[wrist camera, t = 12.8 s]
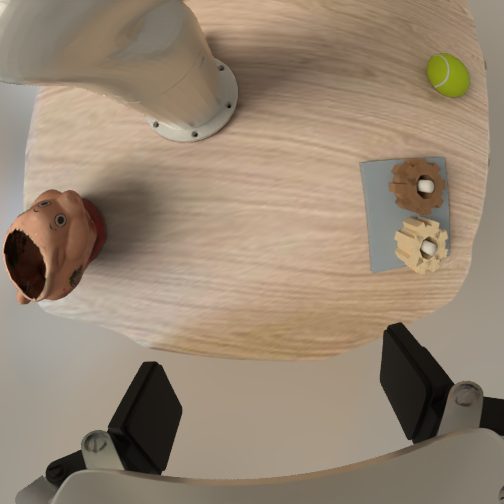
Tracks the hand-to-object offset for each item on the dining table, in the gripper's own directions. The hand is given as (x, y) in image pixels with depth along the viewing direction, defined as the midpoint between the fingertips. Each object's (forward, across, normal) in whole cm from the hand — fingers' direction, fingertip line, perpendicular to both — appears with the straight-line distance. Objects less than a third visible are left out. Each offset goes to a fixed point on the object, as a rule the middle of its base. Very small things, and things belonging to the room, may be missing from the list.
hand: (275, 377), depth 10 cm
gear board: (+26, -21, 0) cm, 34 cm away
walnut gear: (+25, -21, -4) cm, 33 cm away
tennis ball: (+26, -31, -20) cm, 45 cm away
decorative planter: (+26, +28, -5) cm, 39 cm away
